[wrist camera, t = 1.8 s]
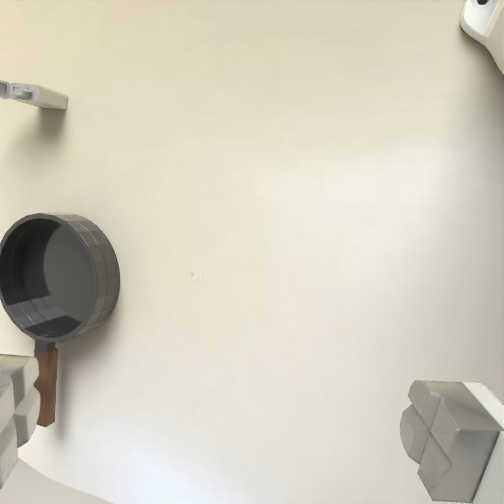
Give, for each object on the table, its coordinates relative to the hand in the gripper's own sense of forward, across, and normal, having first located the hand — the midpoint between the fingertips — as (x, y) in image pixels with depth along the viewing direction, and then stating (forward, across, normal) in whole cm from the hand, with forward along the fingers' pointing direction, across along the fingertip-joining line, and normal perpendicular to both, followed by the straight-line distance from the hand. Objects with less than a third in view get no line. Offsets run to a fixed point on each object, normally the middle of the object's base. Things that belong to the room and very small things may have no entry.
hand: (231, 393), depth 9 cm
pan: (+43, +18, +16) cm, 49 cm away
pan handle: (+38, +18, +29) cm, 51 cm away
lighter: (+49, +22, -4) cm, 54 cm away
